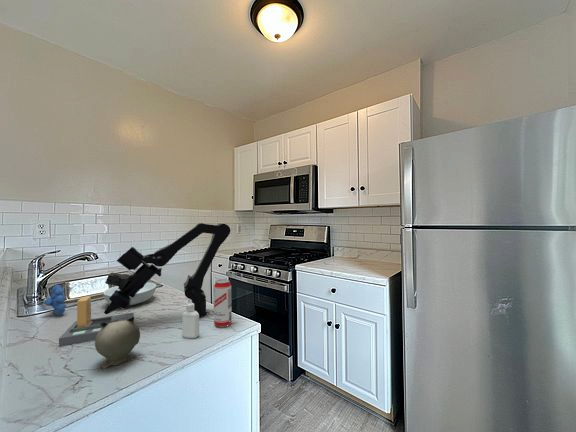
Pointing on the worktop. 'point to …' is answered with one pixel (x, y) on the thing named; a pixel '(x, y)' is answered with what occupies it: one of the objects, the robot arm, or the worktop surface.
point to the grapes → (57, 300)
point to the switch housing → (88, 330)
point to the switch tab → (84, 312)
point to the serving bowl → (138, 298)
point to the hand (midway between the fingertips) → (105, 313)
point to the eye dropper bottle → (190, 322)
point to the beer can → (222, 303)
